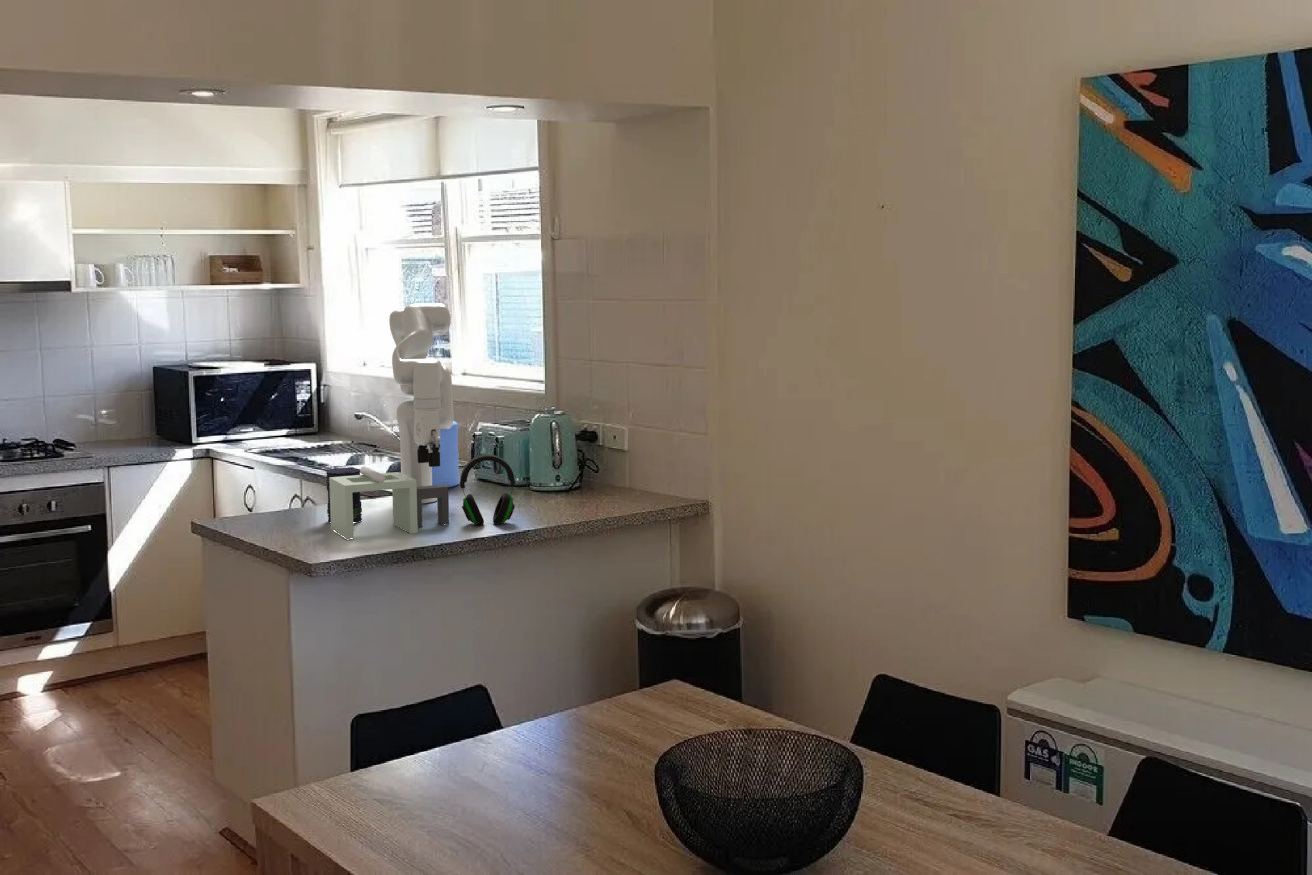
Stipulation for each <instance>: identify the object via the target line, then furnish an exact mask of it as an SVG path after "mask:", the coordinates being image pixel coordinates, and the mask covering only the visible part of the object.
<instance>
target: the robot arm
mask: <svg viewBox="0 0 1312 875" xmlns="http://www.w3.org/2000/svg"><path fill="white" fill-rule="evenodd" d="M451 320H452V317H451V313H450V310H449V308H448V307H447V306H446V305H445V304H443V303H412V304H409V305H407V306H405V307H404V308H400V309H395V310H393V311H392V312H391V313H390V314H389V320H388V321H389V329H390V333H391V336H392V339H393V341H394V344H395V348H394V350H393V351H392V356H391V363H392V364H391V365H392V374H393V379H394V381H395V382H396V383H397V384H398V385H399V386H400V390H401V392H402V394H404V395H405V396H408V397H409V396H410V397H413V400H406V401H403V402H401V403H400V404H398V406H397V408H396V421H397V427H398V433H399V443H400V444H399V446H400V449H399V450H400V473H402V474H404V475H406V476H409V477H411V478H413V479H415V480H416V487H420V486H432V467H437V466H440V430H447V429H449V428H451V427H452V425H453V421H455V420H454V418H455V417H454V416H455V414H454V397H453V396H454V395H453V381H452V374H451V371H450V369H449V368H448V367H447V366H445V365H443V363H442V362H441V361H440V360H439V359H436V358H427V352H428V351H430V350H431V348H432V347H433V345H434V342H435V340H434V338H435V337H437V336H443V335H445V334H446V333H447V332H448V331H449V330H450V327H451V324H452V322H451ZM434 336H435V337H434ZM433 502H437V498H431V499H422V504H430V503H433Z"/></svg>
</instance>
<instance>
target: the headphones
mask: <svg viewBox="0 0 1312 875" xmlns="http://www.w3.org/2000/svg"><path fill="white" fill-rule="evenodd" d="M485 461H487V462H488V461H491V462H496V463H498V464H500V465H501V466H502V468H503V469H504V470H505V473H506V476H507V479H508V480H509V486H510V487H511V490H510V493H508V492H503V493H502V494H501V496H500V497H499V498H498V501H497V504H496V506H495V510H494V511H493V512H494V513H493V515H492V516H493V517H492V522H493V523H494V524H495V525H499V524H501V525H504V524H505V522H506V521H508V520H510V519H511V517H512V515H513V513H514V509H515V507H516V506H515V503H514V497H513V496H512V493H513V490H514V487H515V486H516V480H515V474H514V472H513V470H512V467H511V466H510V465H509V463H508V462H507V461H506V460H504V458H502V457H500V456H497V455H495V454H487V453H485V454H481V455H476V456H474V457H473V458H472V459H470V460H468V462H466V464H465V465H464V467H463V469H462V470H461V474H460V477H459V486H460V489H462V492H463V494H464V498H463V499H462V501H463V502H462V505H461V509H462V510H463V512H464V515H465V517H466V519H467V521H468V522H470V523H472V524H473V525H474V526H477V525H480V526H481V525H483V524H484V523H485V520H484V518H483V515H482V513H481V511H480V509H479V506H478V505H477V502H476V499H475V498H474V496H473V494H472V493H469V494H467V495H466V494H465V490H464V489H465V488H466V486H465V483H467V482H468V476H469V473H470V471H471V470H472V469H473V467H474V466H476V465H477V464H479V463H482V462H485Z"/></svg>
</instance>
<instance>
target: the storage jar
mask: <svg viewBox="0 0 1312 875" xmlns="http://www.w3.org/2000/svg"><path fill="white" fill-rule="evenodd" d="M360 469H361V468H357V467H356V468H355V467H339V468H337V467H336V468H331V469H327V470H326V471H325V474H326V480H325V481H326V482H325V483H326V491H327V509H326V510H327V512H326V513H327V517H328V519H327V523H328V522H331V513H330V484H329V477H341V476H354V475H361V473H360ZM352 497H353V522H359V521H361V520H362V521H363V519H362V515H363V508H362V501H361V492H352ZM362 521H361V522H362ZM359 523H360V522H359Z"/></svg>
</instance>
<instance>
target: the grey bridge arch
mask: <svg viewBox="0 0 1312 875" xmlns="http://www.w3.org/2000/svg"><path fill="white" fill-rule="evenodd" d="M431 498H437V501H436V502H437V505H436V506H437V507H436V508H437V523H438V522H439V523H441V524H442V525H441V524H440V525H441V526H445V525H444V524H449V525H450V511H449V510H450V506H449V505H450V502H449V498H450V497H449V487H448V486H446V485H432V486H420V487H417V526H422V527H423V503H422V499H431ZM439 523H438V524H439Z"/></svg>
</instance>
